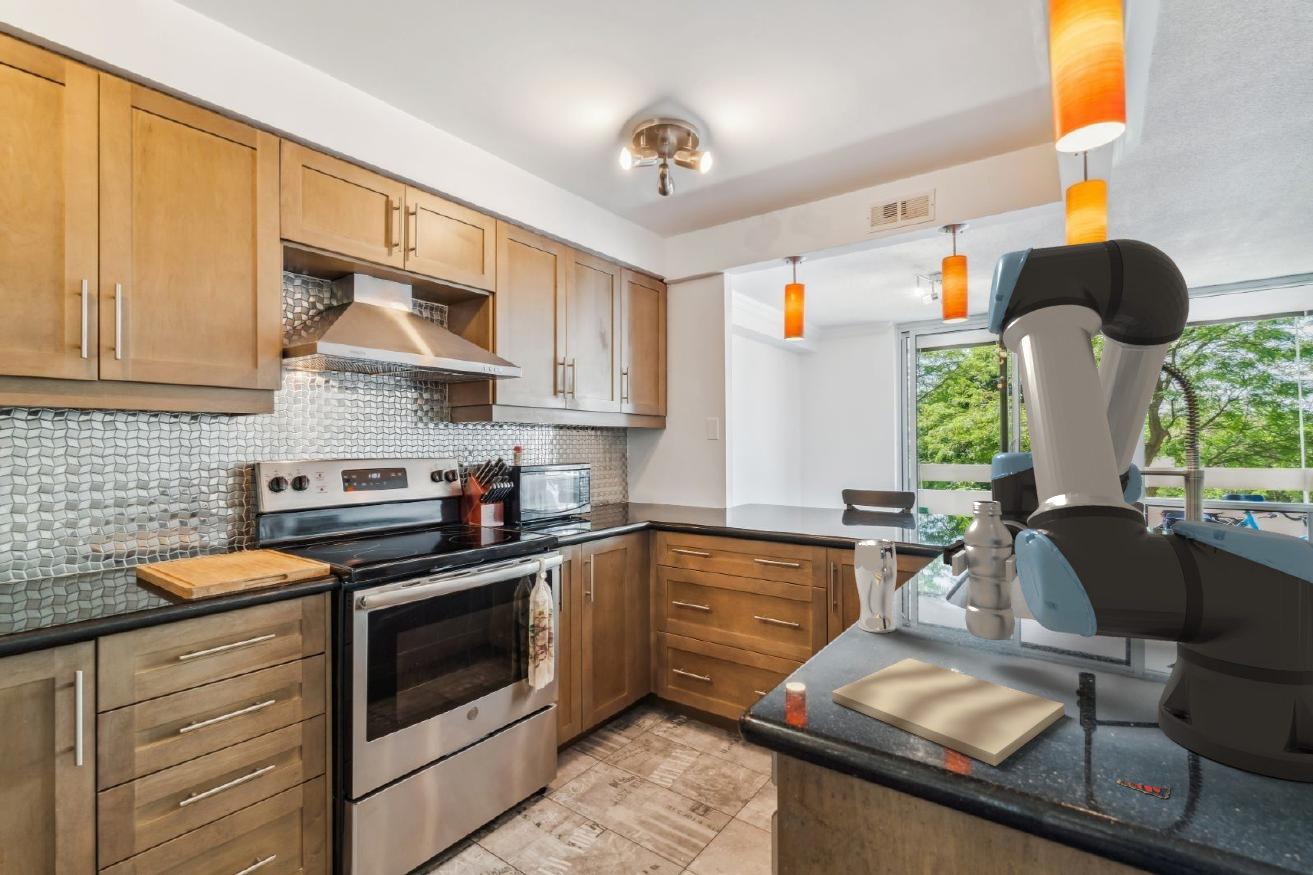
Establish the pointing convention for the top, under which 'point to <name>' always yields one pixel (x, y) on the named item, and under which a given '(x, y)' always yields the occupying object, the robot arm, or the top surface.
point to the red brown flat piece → (1148, 789)
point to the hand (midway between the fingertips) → (981, 569)
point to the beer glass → (876, 583)
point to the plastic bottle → (988, 574)
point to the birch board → (951, 708)
